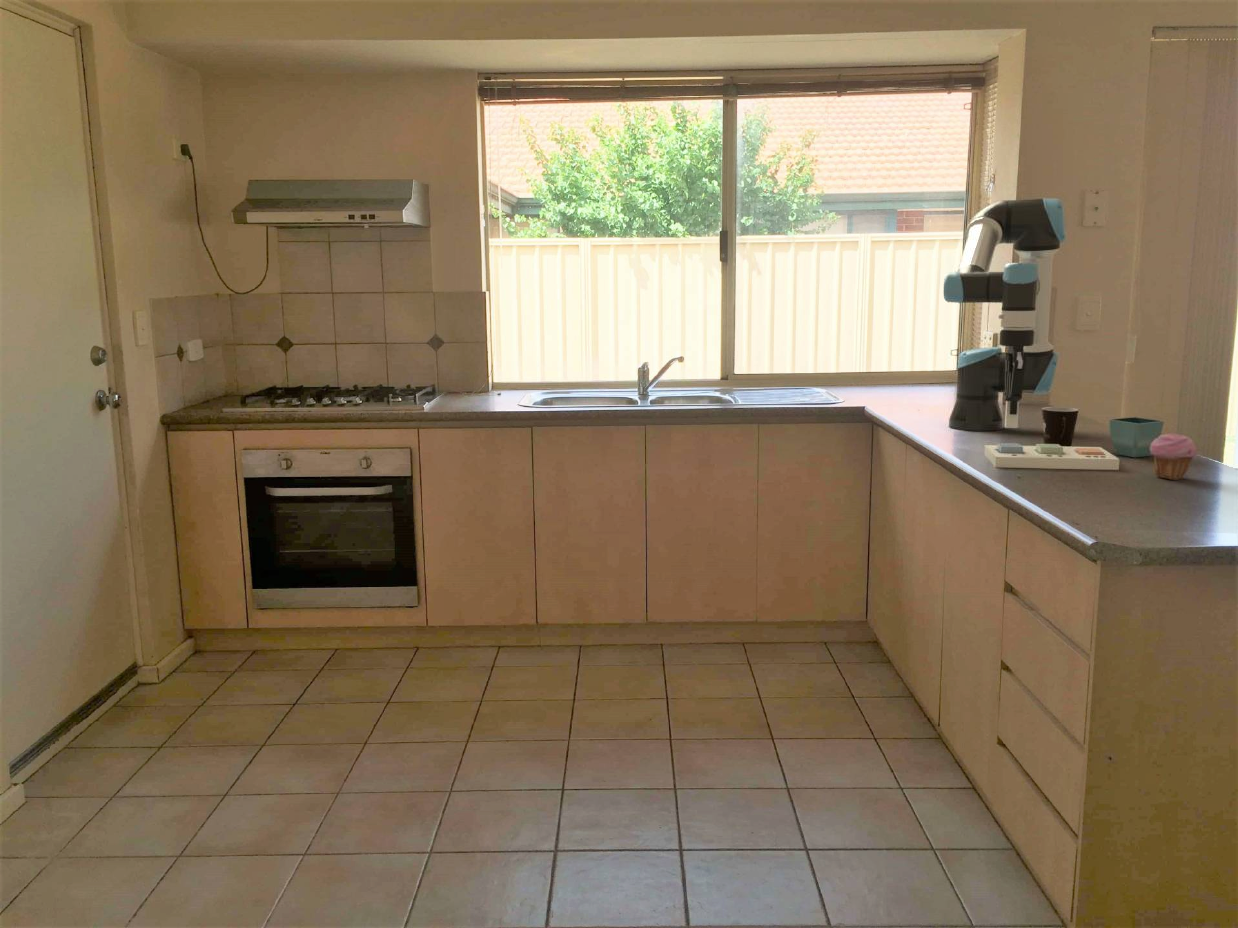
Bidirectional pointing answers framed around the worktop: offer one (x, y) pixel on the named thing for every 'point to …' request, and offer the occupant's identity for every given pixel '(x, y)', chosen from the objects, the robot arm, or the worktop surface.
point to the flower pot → (1134, 435)
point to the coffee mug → (1059, 425)
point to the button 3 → (1089, 451)
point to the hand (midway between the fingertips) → (1011, 427)
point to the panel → (1051, 459)
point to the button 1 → (1009, 448)
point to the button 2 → (1049, 449)
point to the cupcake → (1172, 455)
